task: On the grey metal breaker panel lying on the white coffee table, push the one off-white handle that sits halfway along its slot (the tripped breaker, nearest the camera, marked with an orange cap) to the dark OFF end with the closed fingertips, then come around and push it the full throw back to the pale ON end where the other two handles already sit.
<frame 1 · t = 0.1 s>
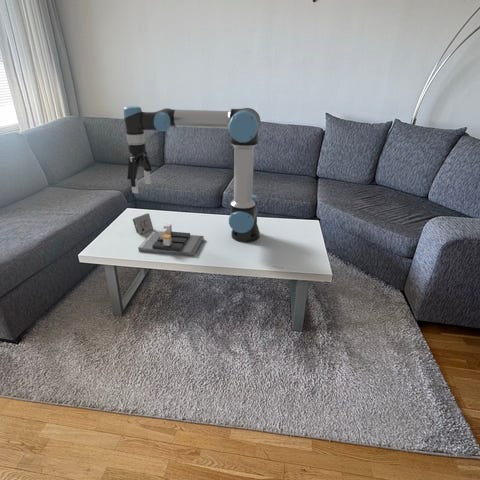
hand: (142, 188, 159), 28 cm above the table, fingers open, 13 cm apart
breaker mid: (163, 233, 165), point 6 cm above the table, slide at 4.0 cm
tripped breaker: (167, 240, 159), point 6 cm above the table, slide at 0.0 cm
electrical switch: (143, 231, 181), on the table
panel: (172, 245, 167), on the table
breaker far: (167, 228, 170), point 6 cm above the table, slide at 4.0 cm
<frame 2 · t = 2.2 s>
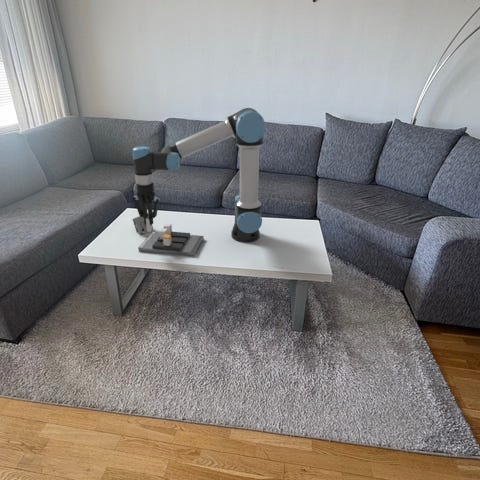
hand: (149, 230, 158), 11 cm above the table, fingers closed
nothing on the table moved.
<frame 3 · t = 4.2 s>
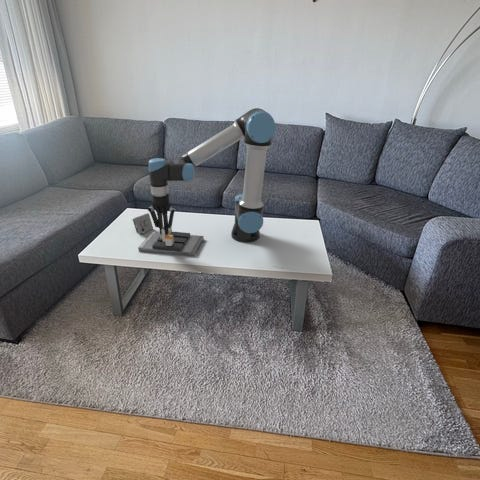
hand: (165, 240, 159), 6 cm above the table, fingers closed
tripped breaker: (169, 240, 159), point 6 cm above the table, slide at -1.0 cm, touching gripper
everything else where it was.
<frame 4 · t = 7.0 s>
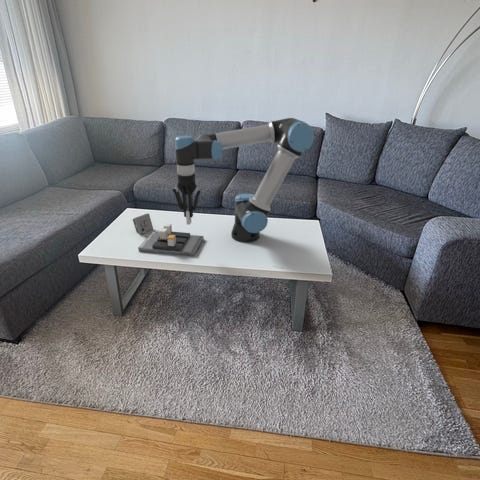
hand: (189, 223, 153), 16 cm above the table, fingers closed
tripped breaker: (171, 240, 159), point 6 cm above the table, slide at -2.2 cm
everything else where it was.
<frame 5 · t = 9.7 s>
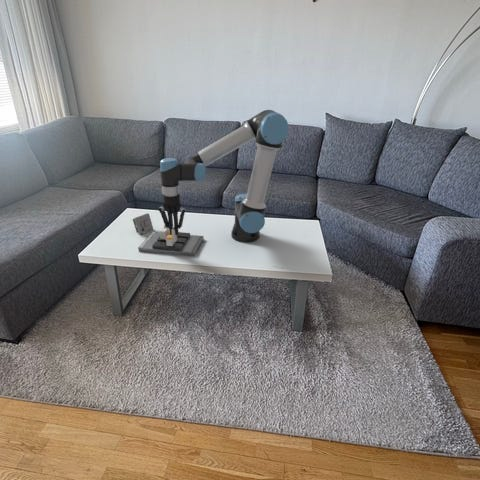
hand: (174, 240, 158), 6 cm above the table, fingers closed
tripped breaker: (170, 240, 159), point 6 cm above the table, slide at -1.5 cm, touching gripper
everything else where it was.
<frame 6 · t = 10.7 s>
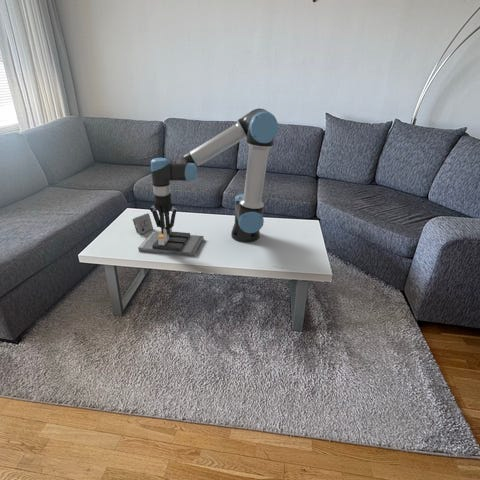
hand: (166, 240, 159), 6 cm above the table, fingers closed
tripped breaker: (162, 239, 159), point 6 cm above the table, slide at 2.5 cm, touching gripper
everything else where it was.
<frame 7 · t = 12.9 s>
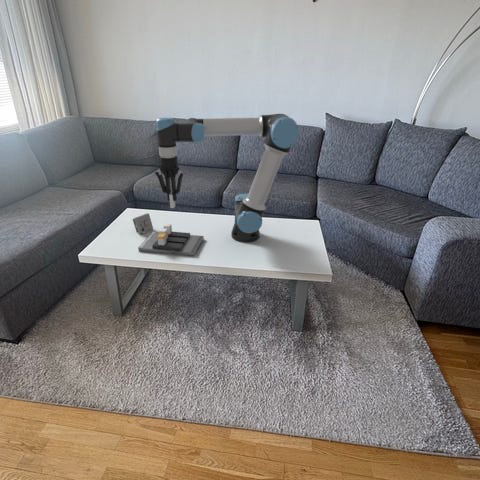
hand: (172, 207, 153), 22 cm above the table, fingers closed
tripped breaker: (162, 239, 159), point 6 cm above the table, slide at 2.7 cm
everything else where it was.
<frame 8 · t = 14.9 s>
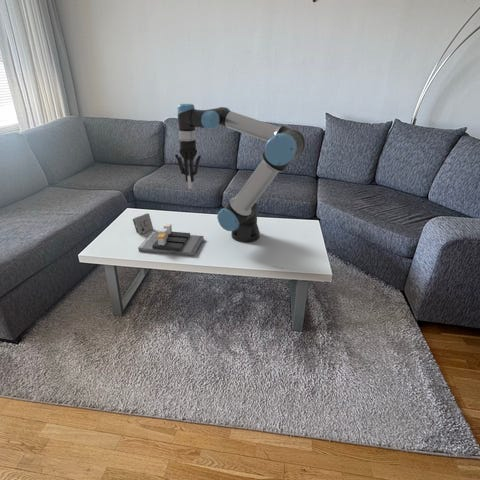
hand: (190, 187, 165), 26 cm above the table, fingers closed
nothing on the table moved.
at the end: tripped breaker slide at 2.7 cm; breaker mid slide at 4.0 cm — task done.
